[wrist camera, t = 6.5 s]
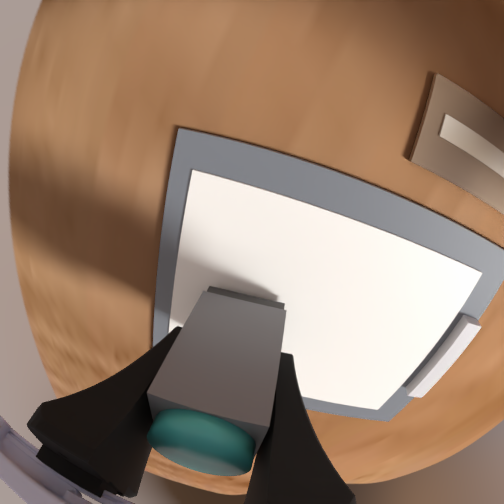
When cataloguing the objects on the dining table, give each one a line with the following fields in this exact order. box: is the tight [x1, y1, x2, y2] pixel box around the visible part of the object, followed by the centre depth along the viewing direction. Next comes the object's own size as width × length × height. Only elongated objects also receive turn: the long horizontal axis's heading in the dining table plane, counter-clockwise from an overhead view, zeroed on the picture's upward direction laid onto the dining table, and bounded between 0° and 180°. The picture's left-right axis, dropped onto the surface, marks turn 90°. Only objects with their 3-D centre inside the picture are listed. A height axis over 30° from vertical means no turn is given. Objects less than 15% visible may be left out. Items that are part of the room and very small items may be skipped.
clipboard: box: [153, 128, 504, 422], centre depth 13 cm, size 17×14×1 cm
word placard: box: [408, 73, 504, 215], centre depth 8 cm, size 6×4×1 cm, turn 75°
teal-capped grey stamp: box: [147, 286, 287, 476], centre depth 10 cm, size 4×4×7 cm
